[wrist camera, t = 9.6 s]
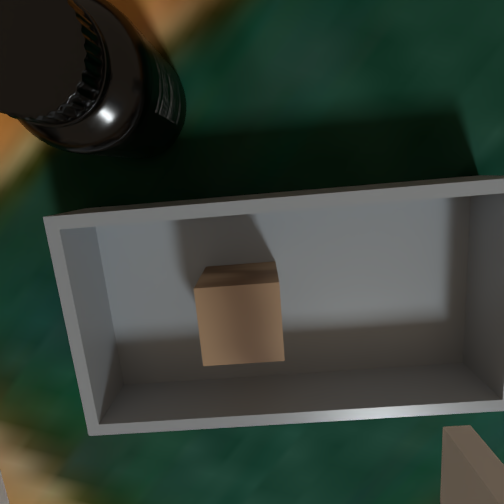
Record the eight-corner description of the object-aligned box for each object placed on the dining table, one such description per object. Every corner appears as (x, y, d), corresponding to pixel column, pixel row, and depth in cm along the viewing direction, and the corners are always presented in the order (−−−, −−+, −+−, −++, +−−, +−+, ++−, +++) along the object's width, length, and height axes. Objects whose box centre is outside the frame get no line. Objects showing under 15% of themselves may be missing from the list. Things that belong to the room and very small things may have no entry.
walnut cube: (213, 331, 27) (203, 366, 22) (205, 266, 26) (193, 288, 21) (280, 326, 27) (284, 360, 22) (275, 261, 26) (279, 282, 21)
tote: (117, 390, 29) (88, 435, 24) (84, 208, 25) (42, 216, 21) (469, 368, 28) (514, 410, 23) (479, 175, 24) (534, 176, 20)
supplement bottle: (114, 29, 23) (-37, -121, 11) (206, 87, 24) (155, 4, 12) (69, 125, 24) (-107, 81, 13) (158, 178, 25) (69, 184, 13)
